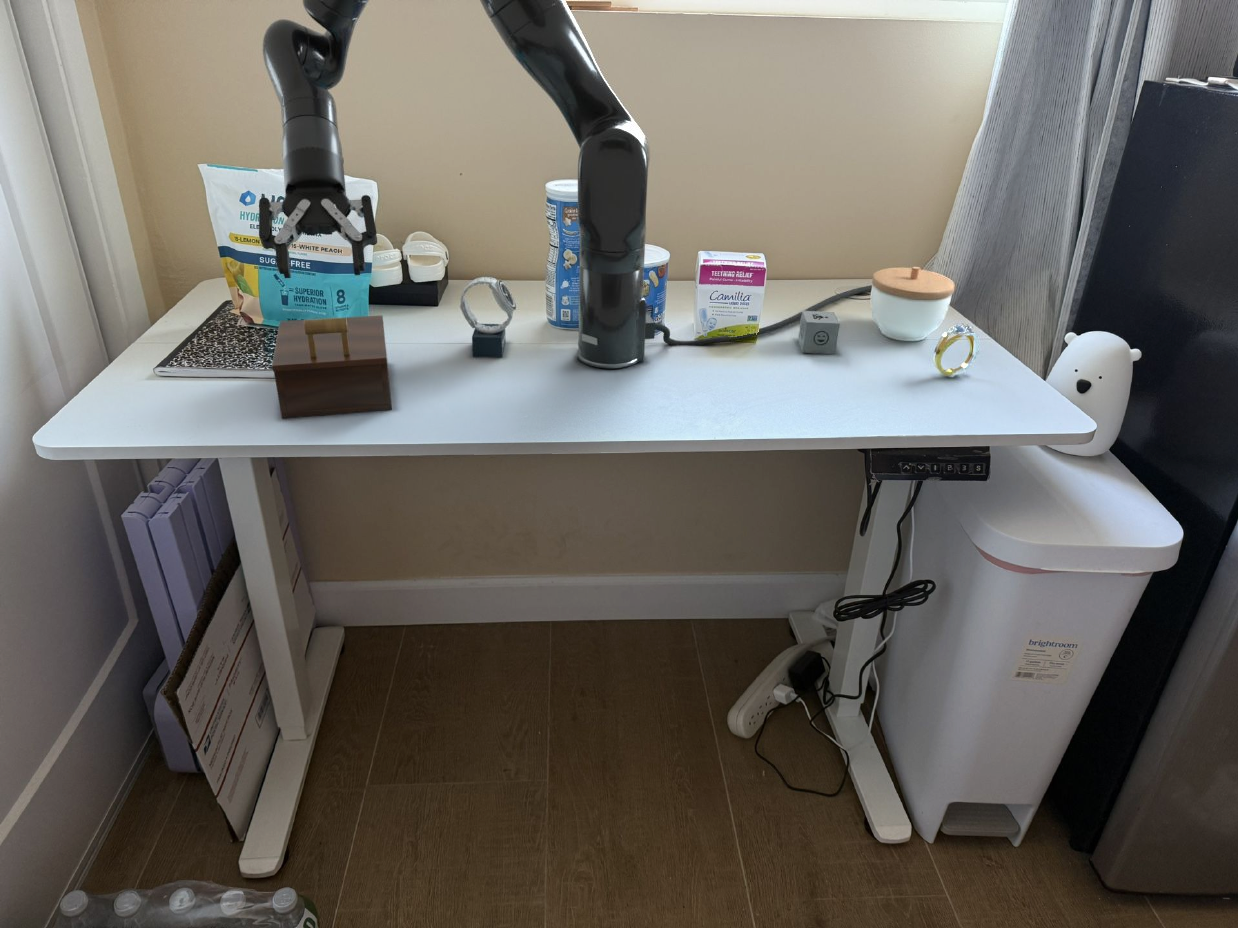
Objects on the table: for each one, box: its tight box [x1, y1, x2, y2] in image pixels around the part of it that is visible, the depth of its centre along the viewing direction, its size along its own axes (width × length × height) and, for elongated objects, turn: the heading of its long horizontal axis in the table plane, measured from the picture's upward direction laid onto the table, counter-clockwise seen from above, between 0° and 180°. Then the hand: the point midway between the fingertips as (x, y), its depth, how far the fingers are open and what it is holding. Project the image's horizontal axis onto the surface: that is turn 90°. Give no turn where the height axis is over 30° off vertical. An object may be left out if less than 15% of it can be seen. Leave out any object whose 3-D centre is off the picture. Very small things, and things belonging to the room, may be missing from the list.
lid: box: [271, 314, 388, 373], centre depth 116 cm, size 15×14×6 cm
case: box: [273, 333, 393, 419], centre depth 120 cm, size 15×14×7 cm
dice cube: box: [797, 310, 841, 355], centre depth 139 cm, size 5×5×5 cm
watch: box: [459, 276, 517, 358], centre depth 132 cm, size 6×8×11 cm
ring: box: [932, 322, 980, 378], centre depth 130 cm, size 7×3×8 cm, turn 104°
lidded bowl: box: [869, 266, 956, 342], centre depth 144 cm, size 13×13×11 cm
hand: (322, 274), depth 113 cm, fingers open, 8 cm apart
